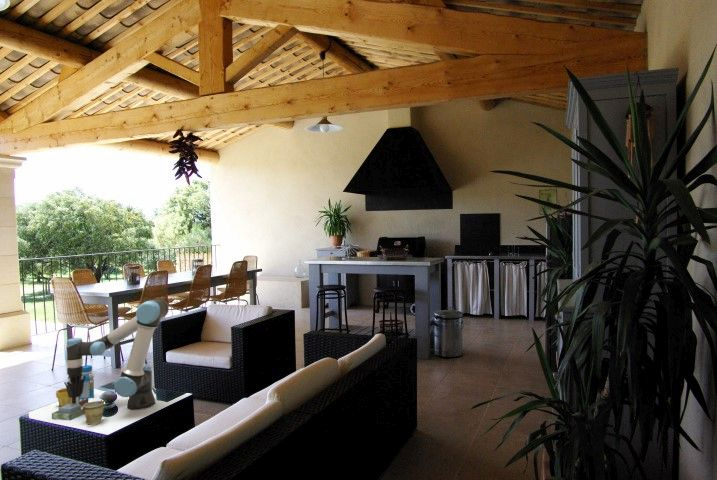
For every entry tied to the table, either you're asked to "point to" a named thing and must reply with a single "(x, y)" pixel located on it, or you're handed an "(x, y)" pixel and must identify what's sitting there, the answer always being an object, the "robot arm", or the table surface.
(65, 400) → the plant pot
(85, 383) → the beverage bottle
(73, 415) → the lane box
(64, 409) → the slate block
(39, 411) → the table surface
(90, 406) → the ceramic cup
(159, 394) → the table surface
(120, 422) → the table surface
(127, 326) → the robot arm
